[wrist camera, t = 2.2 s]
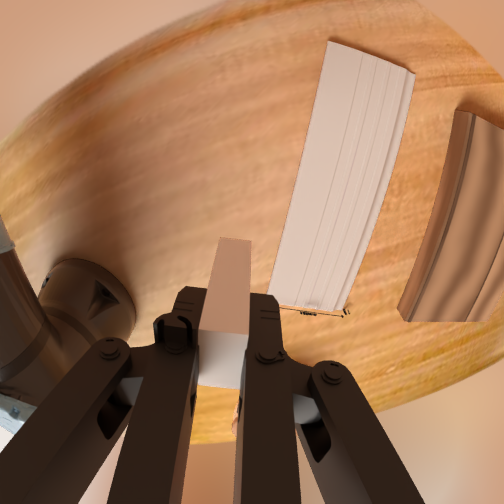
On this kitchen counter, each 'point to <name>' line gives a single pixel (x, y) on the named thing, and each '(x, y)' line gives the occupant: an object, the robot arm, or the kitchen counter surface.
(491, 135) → the grooved tan panel
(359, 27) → the kitchen counter surface
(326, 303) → the baseboard molding
